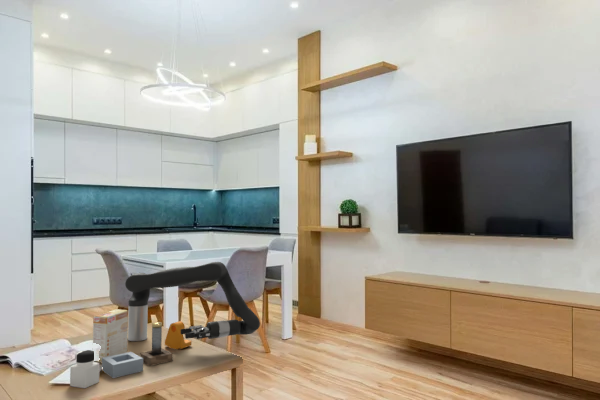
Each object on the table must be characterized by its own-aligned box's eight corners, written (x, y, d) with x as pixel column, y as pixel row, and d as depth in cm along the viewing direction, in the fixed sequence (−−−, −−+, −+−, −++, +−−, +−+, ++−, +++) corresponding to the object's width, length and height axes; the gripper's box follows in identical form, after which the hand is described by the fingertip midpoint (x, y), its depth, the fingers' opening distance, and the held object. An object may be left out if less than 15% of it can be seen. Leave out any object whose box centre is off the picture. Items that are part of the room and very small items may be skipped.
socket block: (140, 359, 194) (140, 353, 194) (161, 355, 201) (161, 348, 201) (150, 365, 186) (150, 358, 187) (172, 360, 193) (172, 353, 193)
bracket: (192, 346, 215) (192, 321, 215) (181, 350, 208) (182, 324, 209) (175, 343, 220) (175, 318, 220) (164, 347, 213) (165, 321, 214)
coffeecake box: (114, 351, 206) (115, 308, 207) (128, 352, 204) (128, 309, 205) (91, 361, 191) (92, 315, 192) (105, 363, 189) (106, 316, 190)
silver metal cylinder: (149, 360, 194) (150, 323, 194) (158, 358, 196) (159, 321, 197) (153, 362, 191) (154, 324, 191) (163, 360, 193) (163, 323, 194)
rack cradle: (101, 370, 181) (101, 357, 181) (130, 363, 189) (131, 351, 189) (112, 378, 172) (113, 365, 172) (143, 370, 180) (143, 358, 180)
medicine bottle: (99, 382, 168) (100, 349, 168) (84, 388, 161) (85, 355, 162) (84, 379, 170) (85, 347, 171) (69, 386, 164) (70, 353, 164)
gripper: (213, 318, 213) (179, 322, 206) (222, 324, 201) (187, 328, 193) (213, 334, 213) (179, 338, 205) (222, 341, 200) (186, 346, 193)
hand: (183, 333), depth 199 cm, fingers open, 8 cm apart
